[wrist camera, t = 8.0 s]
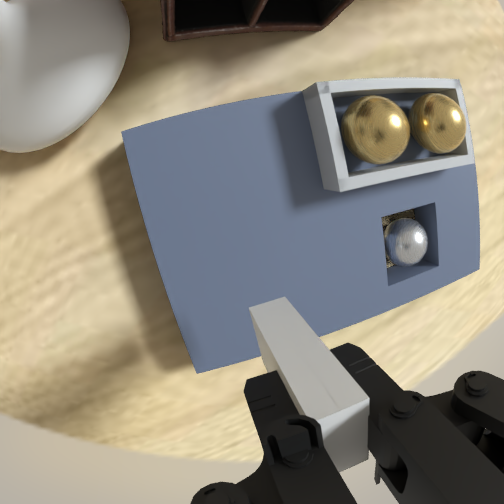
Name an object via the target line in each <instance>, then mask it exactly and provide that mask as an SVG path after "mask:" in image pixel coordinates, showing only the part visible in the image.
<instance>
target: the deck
mask: <svg viewBox="0 0 504 504" xmlns="http://www.w3.org/2000/svg"><path fill="white" fill-rule="evenodd" d="M428 93H440V94H443V95H446V96H448V97H450V98H451V99H453V100H454V101H455V102H456V103H457V104H458V105H459V107H460V108H461V109H462V111H463V113H464V116H465V120H466V134H465V137H464V139H463V141H462V143H461V144H460V145H459V146H458V147H457V148H456V149H455V150H453V151H451V152H448V153H434V152H430V151H428V150H426V149H424V148H423V147H422V146H420V145H419V144H418V143H417V142H416V140H415V139H414V137H413V136H412V134H411V131H410V138H409V142H408V145H407V147H406V149H405V151H404V152H403V153H402V154H401V155H400V156H399V157H398V158H397V159H395V160H394V161H391V162H389V163H386V164H370V163H367V162H364V161H362V160H360V159H358V158H357V157H356V156H354V155H353V154H352V153H351V152H350V151H349V149H348V148H347V146H346V145H345V143H344V140H343V137H342V133H341V122H342V117H343V115H344V113H345V111H346V109H347V108H348V106H349V105H350V104H351V103H353V102H354V101H355V100H357V99H359V98H361V97H364V96H369V95H377V96H382V97H385V98H388V99H390V100H391V101H393V102H395V103H396V104H397V105H398V106H399V107H400V108H401V109H402V110H403V112H404V113H405V115H406V117H407V119H408V117H409V112H410V109H411V107H412V105H413V103H414V102H415V101H416V100H417V99H418V98H419V97H421V96H423V95H425V94H428ZM121 133H122V137H123V142H124V146H125V150H126V154H127V159H128V163H129V167H130V171H131V175H132V179H133V182H134V186H135V190H136V194H137V198H138V201H139V205H140V208H141V212H142V216H143V219H144V223H145V226H146V229H147V233H148V236H149V239H150V243H151V246H152V249H153V252H154V256H155V259H156V262H157V265H158V268H159V271H160V274H161V277H162V280H163V283H164V286H165V289H166V292H167V295H168V298H169V301H170V304H171V307H172V309H173V312H174V315H175V318H176V321H177V323H178V326H179V329H180V332H181V334H182V337H183V340H184V342H185V345H186V347H187V350H188V353H189V355H190V358H191V360H192V363H193V365H194V368H195V370H196V373H197V374H198V373H202V372H206V371H210V370H213V369H217V368H221V367H225V366H228V365H232V364H235V363H239V362H242V361H246V360H249V359H253V358H256V357H259V356H261V352H260V348H259V345H258V341H257V337H256V333H255V330H254V326H253V322H252V318H251V314H250V311H249V307H253V306H256V305H259V304H262V303H266V302H269V301H272V300H275V299H278V298H282V297H286V298H287V300H288V301H289V302H290V303H291V304H292V306H293V307H294V308H295V309H296V310H297V312H298V313H299V314H300V315H301V316H302V318H303V319H304V320H305V321H306V322H307V324H308V325H309V326H310V327H311V328H312V330H313V331H314V332H315V333H316V334H317V336H318V337H321V336H323V335H326V334H329V333H332V332H335V331H337V330H340V329H343V328H345V327H348V326H351V325H353V324H356V323H359V322H361V321H364V320H366V319H369V318H372V317H374V316H377V315H379V314H382V313H384V312H386V311H389V310H391V309H394V308H396V307H399V306H401V305H403V304H406V303H408V302H410V301H413V300H415V299H417V298H419V297H422V296H424V295H426V294H428V293H431V292H433V291H435V290H437V289H439V288H442V287H444V286H446V285H448V284H450V283H452V282H454V281H456V280H458V279H460V278H463V277H465V276H467V275H469V274H471V273H473V272H475V271H477V270H479V265H480V222H479V201H478V187H477V176H476V167H475V158H474V151H473V144H472V137H471V131H470V125H469V120H468V115H467V110H466V105H465V100H464V96H463V91H462V87H461V84H460V80H459V79H442V78H367V79H349V80H336V81H324V82H316V83H314V84H313V85H311V86H309V87H308V88H306V89H305V90H303V91H299V92H292V93H285V94H278V95H272V96H266V97H260V98H254V99H248V100H243V101H238V102H233V103H228V104H223V105H218V106H214V107H209V108H205V109H201V110H196V111H192V112H188V113H184V114H180V115H177V116H173V117H169V118H165V119H162V120H158V121H155V122H151V123H148V124H144V125H141V126H138V127H135V128H131V129H128V130H125V131H122V132H121ZM412 208H414V214H415V221H417V222H418V223H419V224H421V225H422V227H423V228H424V230H425V231H426V234H427V238H428V247H427V251H426V253H425V255H424V257H423V258H422V259H421V260H420V261H419V262H418V263H416V264H414V265H412V266H407V267H403V266H398V265H394V266H392V267H389V268H387V266H386V255H385V245H384V235H383V227H382V218H381V217H384V216H387V215H391V214H394V213H398V212H402V211H405V210H409V209H412Z"/></svg>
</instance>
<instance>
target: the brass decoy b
mask: <svg viewBox="0 0 504 504" xmlns="http://www.w3.org/2000/svg"><path fill="white" fill-rule="evenodd" d="M408 122H409V126H410V131H411V134H412V136H413V137H414V139H415V140H416V142H417V143H418V144H419V145H420V146H422V147H423V148H424V149H426V150H428V151H430V152H434V153H448V152H451V151H453V150H455V149H456V148H457V147H458V146H459V145H460V144H461V143H462V141H463V139H464V137H465V134H466V120H465V116H464V113H463V111H462V109H461V108H460V107H459V105H458V104H457V103H456V102H455V101H454V100H453V99H451V98H450V97H448V96H446V95H443V94H440V93H428V94H425V95H423V96H421V97H419V98H418V99H417V100H416V101H415V102H414V103H413V105H412V107H411V109H410V112H409V117H408Z"/></svg>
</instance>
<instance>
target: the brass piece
mask: <svg viewBox="0 0 504 504" xmlns="http://www.w3.org/2000/svg"><path fill="white" fill-rule="evenodd" d="M341 133H342V137H343V140H344V143H345V145H346V146H347V148H348V149H349V151H350V152H351V153H352V154H353V155H354V156H356V157H357V158H358V159H360V160H362V161H364V162H367V163H370V164H386V163H389V162H391V161H394V160H395V159H397V158H398V157H399V156H400V155H401V154H402V153H403V152H404V151H405V149H406V147H407V145H408V142H409V138H410V126H409V122H408V119H407V117H406V115H405V113H404V112H403V110H402V109H401V108H400V107H399V106H398V105H397V104H396V103H395V102H393V101H391V100H390V99H388V98H385V97H382V96H377V95H369V96H364V97H361V98H359V99H357V100H355V101H354V102H353V103H351V104H350V105H349V106H348V108H347V109H346V111H345V113H344V115H343V117H342V122H341Z"/></svg>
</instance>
